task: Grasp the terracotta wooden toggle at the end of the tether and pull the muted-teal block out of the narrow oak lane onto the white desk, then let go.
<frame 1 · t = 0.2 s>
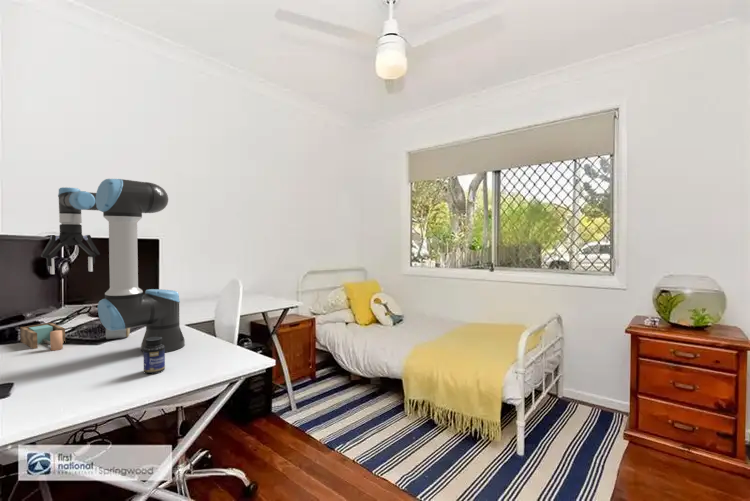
hand: (72, 272, 164), 28 cm above the table, fingers open, 13 cm apart
pill bottle: (154, 371, 126), on the table
tethered block: (41, 341, 156), on the table
oak lane: (42, 342, 155), on the table
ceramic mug: (117, 337, 164), on the table
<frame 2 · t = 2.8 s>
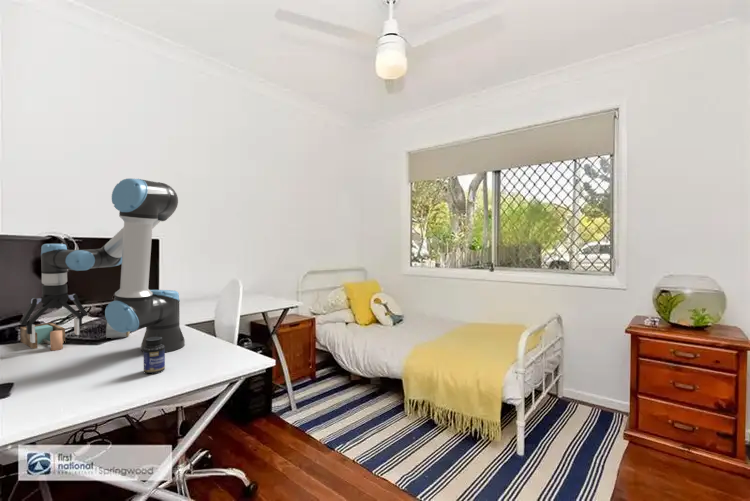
hand: (55, 338, 146), 4 cm above the table, fingers open, 13 cm apart
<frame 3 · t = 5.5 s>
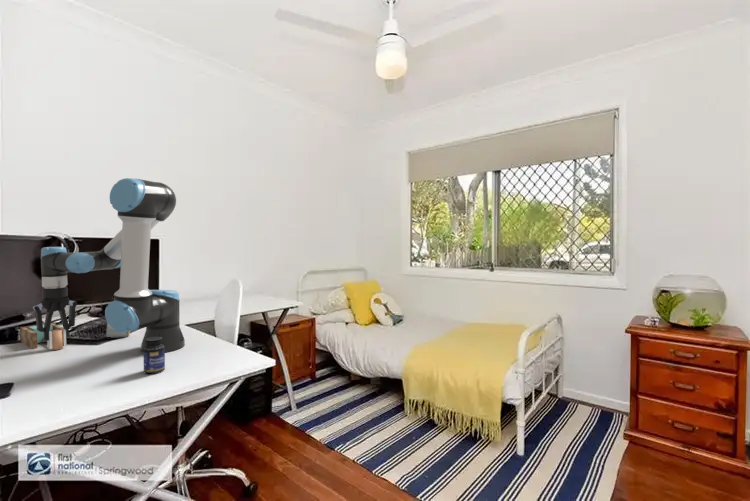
hand: (57, 346, 146), 1 cm above the table, fingers closed on tethered block, 4 cm apart
tethered block: (41, 340, 156), on the table, touching gripper
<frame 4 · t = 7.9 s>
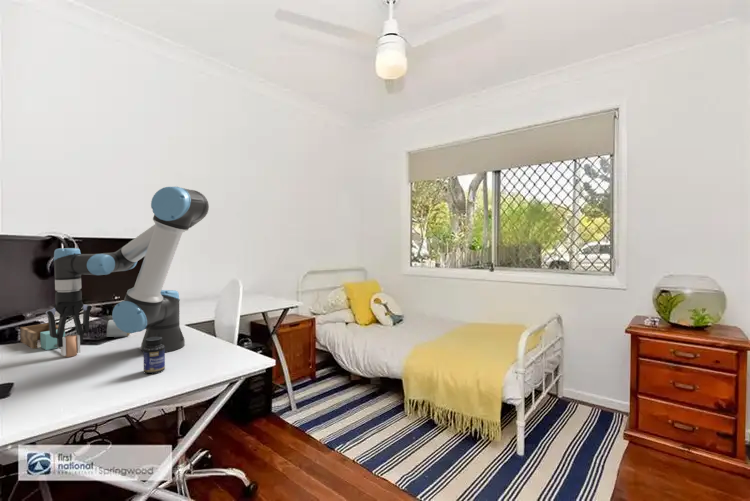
hand: (70, 353, 139), 1 cm above the table, fingers closed on tethered block, 4 cm apart
tethered block: (53, 346, 149), on the table, touching gripper
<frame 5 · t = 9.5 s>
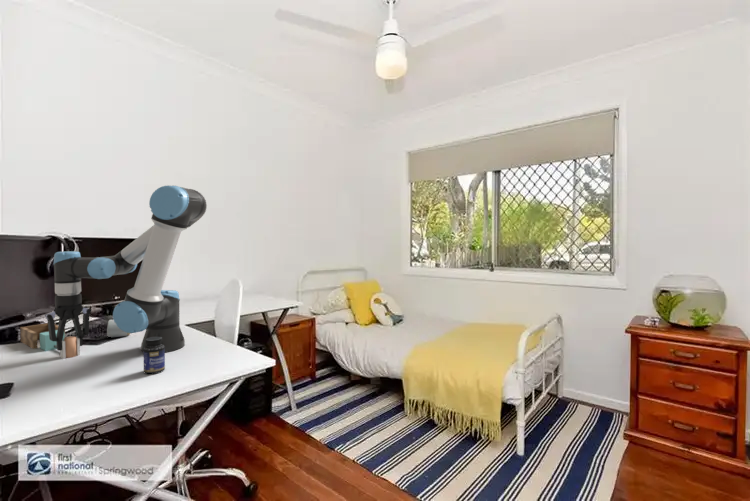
hand: (70, 356, 139), 0 cm above the table, fingers closed on tethered block, 4 cm apart
tethered block: (52, 347, 148), on the table, touching gripper
when the fingers open (0 cm above the table, at t = 10.6 s): tethered block stays where it is, on the table.
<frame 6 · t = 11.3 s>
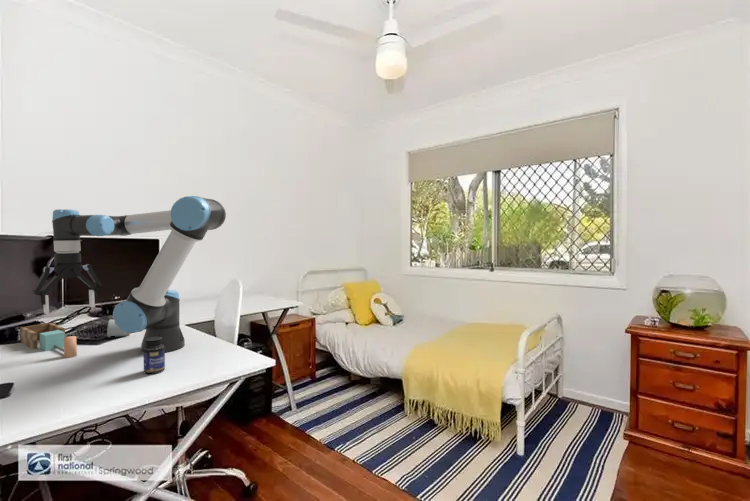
hand: (70, 310, 138), 17 cm above the table, fingers open, 13 cm apart
tethered block: (52, 347, 148), on the table
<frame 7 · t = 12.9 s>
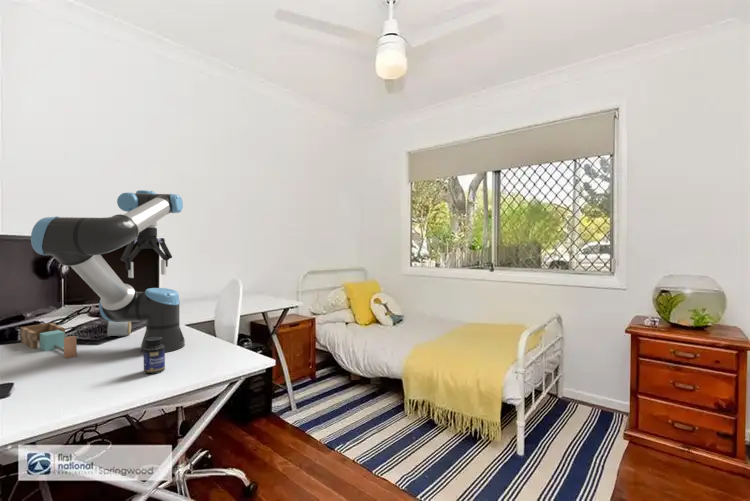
hand: (147, 276, 164), 27 cm above the table, fingers open, 13 cm apart
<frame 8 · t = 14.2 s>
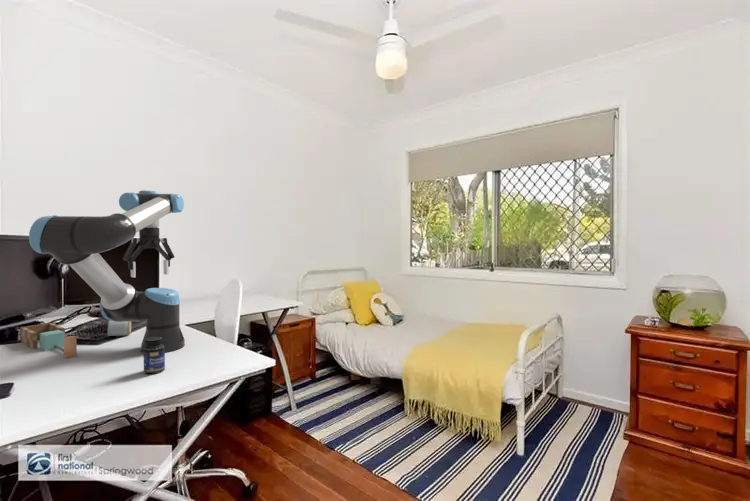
hand: (150, 275, 164), 27 cm above the table, fingers open, 13 cm apart
at the end: tethered block inside the target area (0.6 cm from its centre), on the table; tethered block moved 14.0 cm from its start; the gripper is holding nothing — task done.
